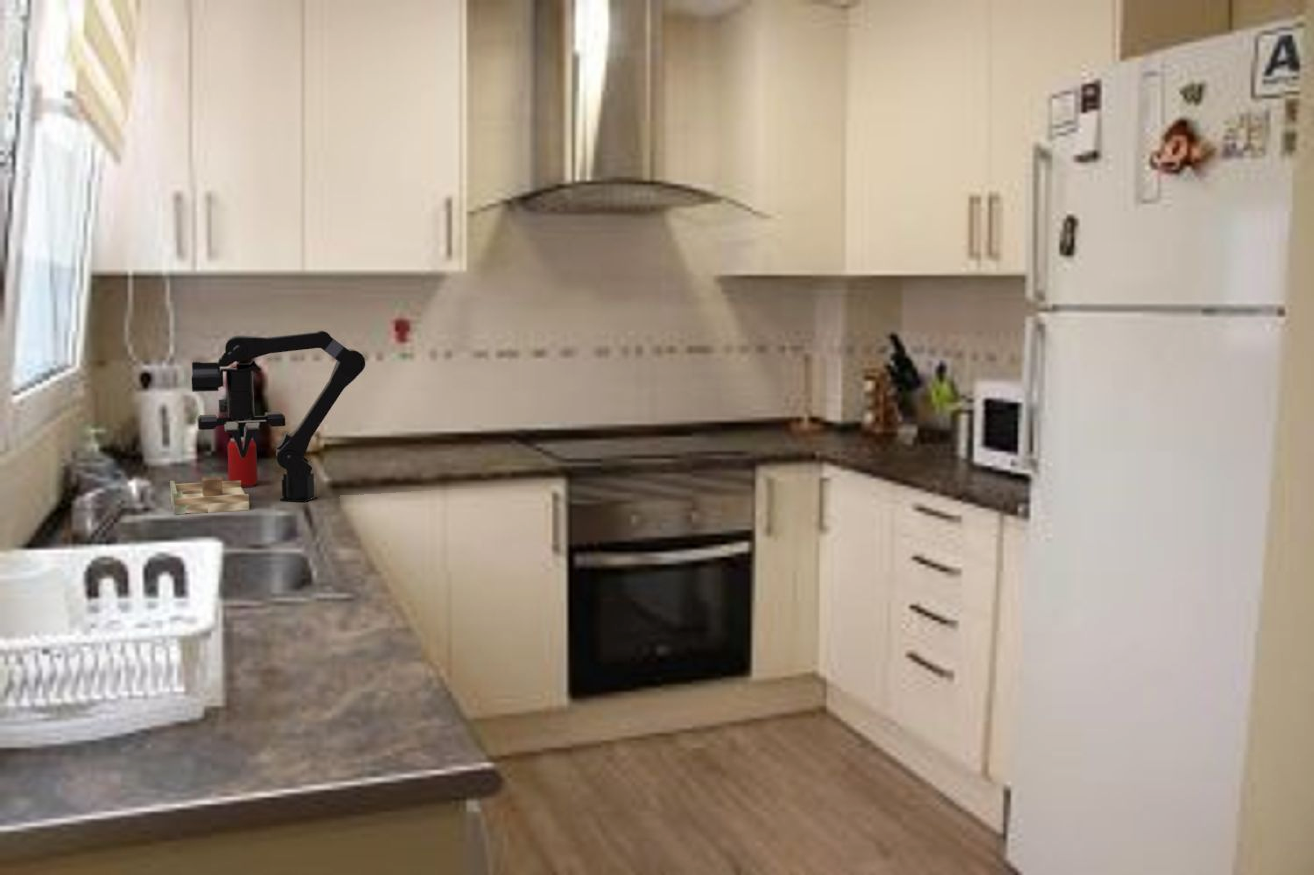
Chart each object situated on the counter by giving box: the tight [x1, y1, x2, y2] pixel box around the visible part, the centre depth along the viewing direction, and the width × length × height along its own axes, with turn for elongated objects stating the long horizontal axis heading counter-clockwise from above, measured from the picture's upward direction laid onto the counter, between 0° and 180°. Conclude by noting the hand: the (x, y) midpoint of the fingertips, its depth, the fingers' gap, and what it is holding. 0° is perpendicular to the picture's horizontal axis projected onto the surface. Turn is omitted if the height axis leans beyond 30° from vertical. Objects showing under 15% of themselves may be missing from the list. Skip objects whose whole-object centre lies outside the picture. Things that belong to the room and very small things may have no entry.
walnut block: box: [201, 476, 223, 497], centre depth 258 cm, size 4×4×4 cm
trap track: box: [169, 480, 250, 515], centre depth 258 cm, size 16×19×4 cm
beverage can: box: [227, 436, 258, 488], centre depth 281 cm, size 7×7×12 cm
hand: (243, 457), depth 260 cm, fingers closed
